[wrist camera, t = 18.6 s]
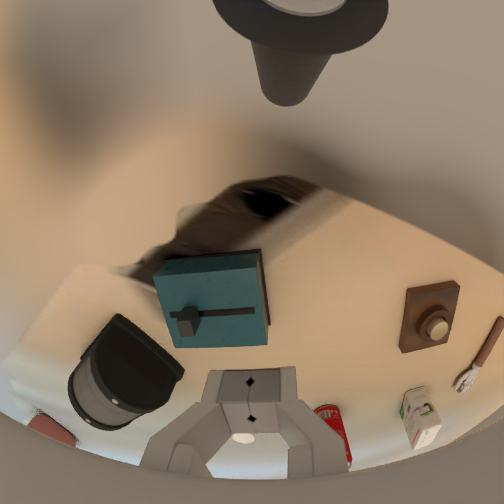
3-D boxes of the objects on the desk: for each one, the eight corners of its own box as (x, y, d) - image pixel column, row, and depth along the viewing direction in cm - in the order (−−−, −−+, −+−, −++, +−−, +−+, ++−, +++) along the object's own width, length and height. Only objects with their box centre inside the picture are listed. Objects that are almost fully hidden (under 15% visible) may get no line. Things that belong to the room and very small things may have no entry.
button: (428, 318, 38) (432, 324, 37) (445, 314, 38) (450, 320, 36) (424, 336, 40) (428, 342, 38) (441, 332, 39) (445, 337, 38)
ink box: (417, 408, 51) (432, 444, 40) (399, 413, 51) (412, 451, 40) (424, 385, 48) (443, 423, 37) (405, 391, 49) (422, 431, 38)
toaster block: (165, 258, 42) (149, 275, 36) (260, 248, 40) (258, 265, 35) (183, 327, 46) (173, 350, 40) (270, 323, 44) (269, 347, 39)
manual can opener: (491, 313, 42) (499, 319, 39) (505, 315, 42) (512, 321, 39) (448, 387, 48) (453, 396, 45) (464, 387, 48) (469, 394, 45)
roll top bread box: (167, 426, 36) (117, 448, 42) (188, 369, 49) (138, 402, 55) (78, 358, 33) (50, 396, 39) (119, 309, 46) (82, 355, 52)
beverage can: (306, 414, 52) (310, 472, 38) (330, 398, 50) (339, 459, 36) (325, 422, 53) (331, 478, 39) (347, 408, 51) (359, 465, 37)
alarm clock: (37, 415, 70) (15, 448, 51) (39, 407, 66) (15, 442, 48) (76, 445, 73) (57, 479, 54) (80, 438, 69) (60, 476, 51)
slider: (183, 307, 37) (175, 321, 34) (196, 306, 37) (190, 320, 34) (187, 322, 38) (180, 337, 35) (200, 322, 38) (194, 336, 35)
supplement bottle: (260, 409, 52) (257, 446, 43) (234, 406, 52) (228, 443, 43) (262, 392, 50) (259, 431, 41) (234, 390, 51) (228, 429, 41)
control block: (407, 288, 41) (416, 300, 37) (454, 280, 40) (465, 290, 36) (398, 346, 45) (405, 360, 41) (442, 336, 44) (451, 348, 40)
